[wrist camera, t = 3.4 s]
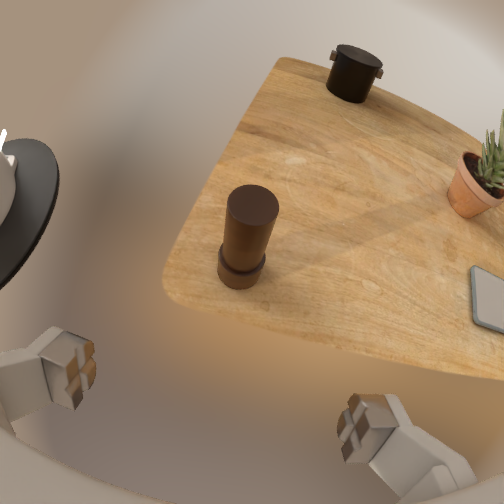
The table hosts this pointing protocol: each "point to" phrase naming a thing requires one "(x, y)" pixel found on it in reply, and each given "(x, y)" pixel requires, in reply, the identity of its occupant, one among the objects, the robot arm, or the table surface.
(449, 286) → the table surface
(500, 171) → the potted plant
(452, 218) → the table surface
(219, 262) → the walnut pestle
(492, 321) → the smartphone
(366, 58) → the black cooking pot
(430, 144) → the table surface
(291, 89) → the table surface
